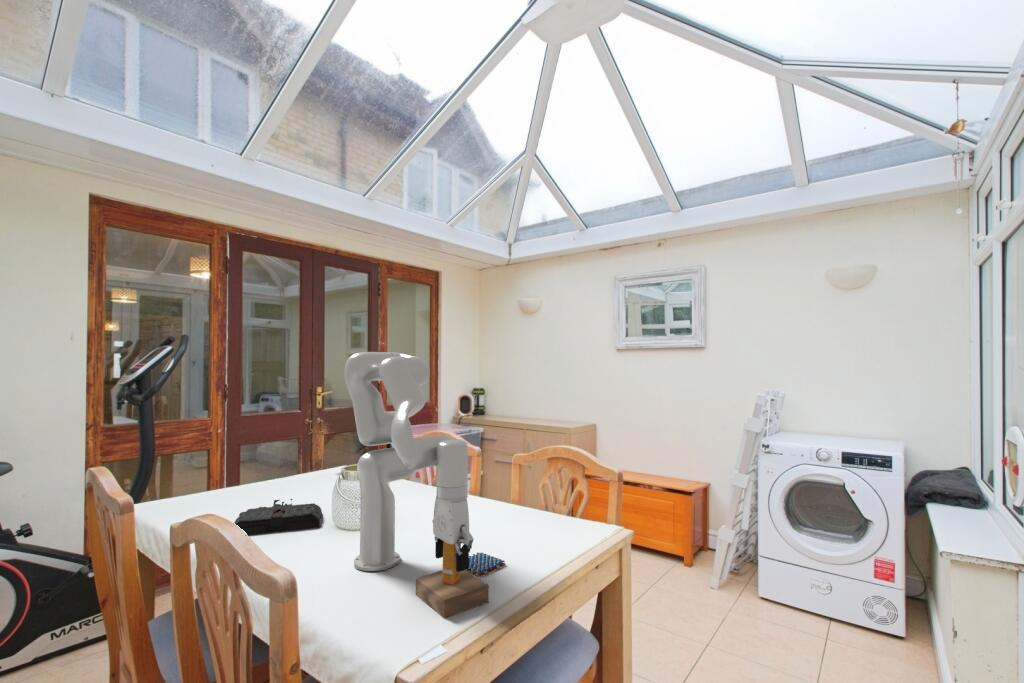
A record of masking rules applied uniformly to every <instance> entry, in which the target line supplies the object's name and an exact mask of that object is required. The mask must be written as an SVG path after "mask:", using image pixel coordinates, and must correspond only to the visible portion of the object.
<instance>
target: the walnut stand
mask: <svg viewBox="0 0 1024 683" xmlns="http://www.w3.org/2000/svg"><path fill="white" fill-rule="evenodd" d="M489 586H490V585H489V584H488V583H486V582H485V581H483V580H481V579H480V578H478V576H476V575H474V574H473V573H470V572H468V571H466V570H463V571H460V578H459V581H457V582H456V583H455V584H454V585H450V584H446V583H443V582H442V569H441V570H438V571H435V572H431V573H428V574H424V575H422V576H418V577H415V596H416V597H418V598H419V599H420V600H421V601H422V602H424V603H425V604H426V605H427V606H428V607H429V608H431V609H432V610H433V611H434V612H436V613H437V614H438V615H439V616H440V617H442V618H443V619H447V618H449V617H452V616H454V615H455V616H456V615H457V614H460V613H463V612H465V611H469V610H471V609H475V608H476V607H480V606H482V605H485V604H487V603H489V594H490V593H489Z"/></svg>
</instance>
